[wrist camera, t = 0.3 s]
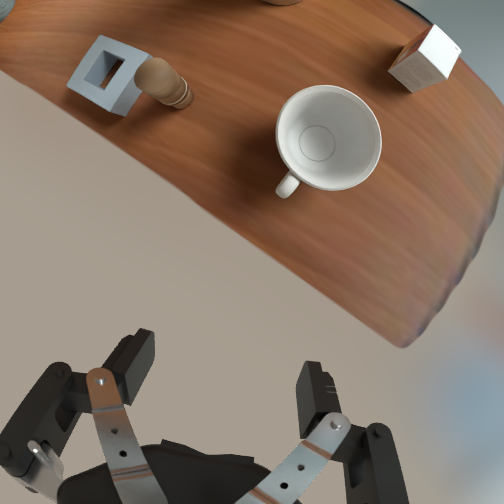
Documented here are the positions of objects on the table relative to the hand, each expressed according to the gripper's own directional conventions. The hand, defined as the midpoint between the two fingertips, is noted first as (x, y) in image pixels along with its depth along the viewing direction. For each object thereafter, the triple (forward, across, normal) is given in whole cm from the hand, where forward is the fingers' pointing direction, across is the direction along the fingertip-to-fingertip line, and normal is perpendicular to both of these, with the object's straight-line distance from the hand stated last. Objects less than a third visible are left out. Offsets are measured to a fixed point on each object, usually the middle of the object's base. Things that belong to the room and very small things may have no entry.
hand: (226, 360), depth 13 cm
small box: (+29, -20, -32) cm, 48 cm away
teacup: (+28, -6, -13) cm, 32 cm away
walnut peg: (+28, +14, -18) cm, 36 cm away
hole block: (+28, +26, -22) cm, 44 cm away
